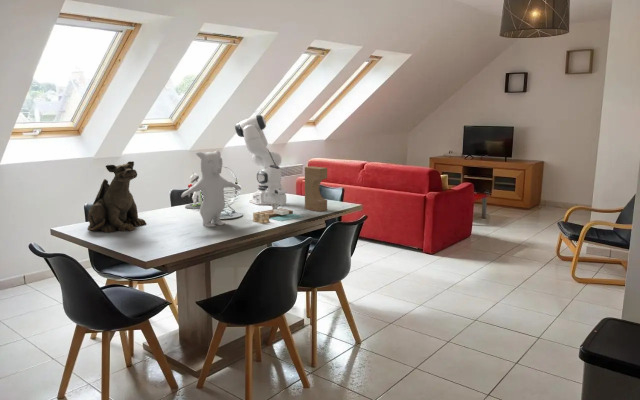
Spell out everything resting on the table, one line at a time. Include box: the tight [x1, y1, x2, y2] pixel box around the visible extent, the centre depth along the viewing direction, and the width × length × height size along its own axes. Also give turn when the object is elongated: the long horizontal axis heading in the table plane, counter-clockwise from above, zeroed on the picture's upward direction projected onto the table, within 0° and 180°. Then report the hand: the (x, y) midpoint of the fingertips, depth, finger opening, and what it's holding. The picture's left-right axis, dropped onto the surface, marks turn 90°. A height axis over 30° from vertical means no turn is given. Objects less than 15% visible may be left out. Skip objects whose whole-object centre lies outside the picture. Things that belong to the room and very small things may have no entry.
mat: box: [269, 213, 305, 222], centre depth 334 cm, size 12×20×1 cm, turn 133°
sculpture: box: [87, 161, 147, 233], centre depth 301 cm, size 31×36×40 cm
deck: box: [255, 208, 294, 218], centre depth 343 cm, size 13×22×2 cm, turn 133°
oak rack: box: [252, 211, 271, 225], centre depth 321 cm, size 10×6×6 cm, turn 43°
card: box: [272, 208, 289, 215], centre depth 338 cm, size 9×6×2 cm, turn 43°
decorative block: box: [304, 165, 328, 213], centre depth 358 cm, size 15×8×30 cm, turn 48°
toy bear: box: [180, 150, 242, 228], centre depth 309 cm, size 42×17×45 cm, turn 135°
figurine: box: [184, 172, 203, 210], centre depth 368 cm, size 17×17×25 cm
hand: (274, 210), depth 342 cm, fingers closed
